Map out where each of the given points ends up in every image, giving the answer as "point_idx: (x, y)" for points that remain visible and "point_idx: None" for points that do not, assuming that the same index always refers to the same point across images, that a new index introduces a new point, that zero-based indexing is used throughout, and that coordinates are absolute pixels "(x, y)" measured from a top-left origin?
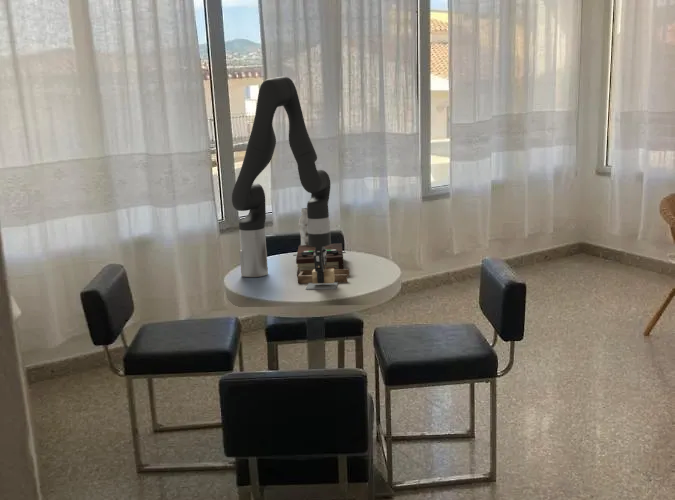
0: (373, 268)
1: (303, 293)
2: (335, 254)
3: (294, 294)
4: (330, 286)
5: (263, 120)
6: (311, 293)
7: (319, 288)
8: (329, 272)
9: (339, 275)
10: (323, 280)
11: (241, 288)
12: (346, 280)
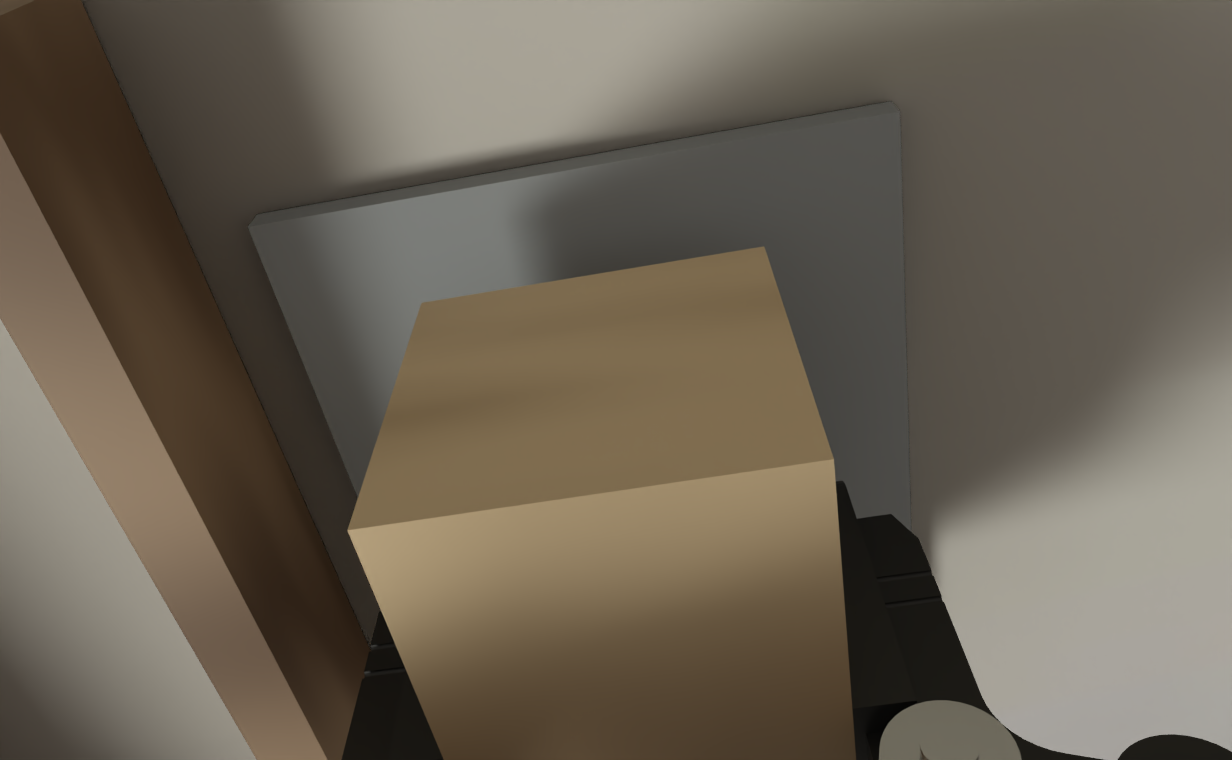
0: None
1: (1172, 632)
2: None
3: (1210, 731)
4: None
5: None
6: (1206, 512)
7: (907, 468)
8: (837, 539)
9: (81, 277)
10: (850, 519)
11: None
12: (57, 11)
